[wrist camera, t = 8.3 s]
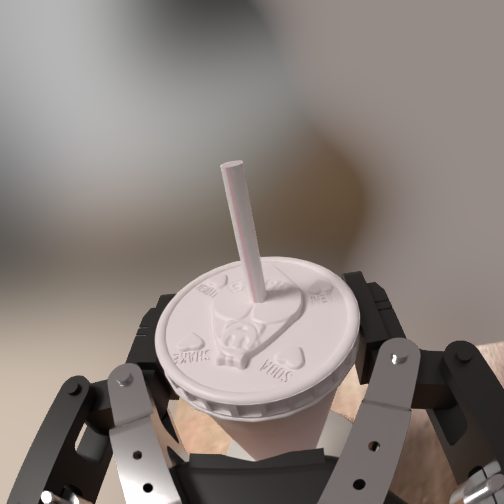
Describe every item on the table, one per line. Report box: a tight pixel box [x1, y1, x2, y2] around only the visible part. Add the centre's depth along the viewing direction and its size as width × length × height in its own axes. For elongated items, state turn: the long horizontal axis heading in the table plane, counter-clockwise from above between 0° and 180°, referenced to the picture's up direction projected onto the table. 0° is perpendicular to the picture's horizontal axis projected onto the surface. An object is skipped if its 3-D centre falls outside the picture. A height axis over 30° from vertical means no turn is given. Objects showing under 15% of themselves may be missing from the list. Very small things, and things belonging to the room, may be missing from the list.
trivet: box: [226, 410, 353, 461], centre depth 20 cm, size 11×11×2 cm
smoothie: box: [155, 161, 360, 461], centre depth 11 cm, size 6×6×14 cm
